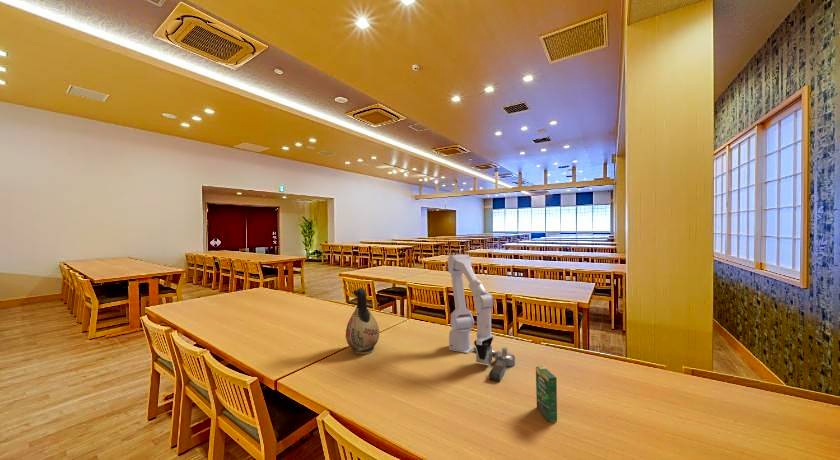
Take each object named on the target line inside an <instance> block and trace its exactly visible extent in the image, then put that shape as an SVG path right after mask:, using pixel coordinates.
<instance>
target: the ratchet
mask: <svg viewBox="0 0 840 460" xmlns="http://www.w3.org/2000/svg"><path fill="white" fill-rule="evenodd" d="M494 363H495V364H494V365H493V366H492V368H491V370H490V371H489V381H492V382H497V383H501V381H502V379H503V377H504V376H505V374H506V371H507V370H508V369H510V368H514V367H515V366H516V356H515V355H514V354H513V353H510V352H509V348H508V347H505V346H502V348H501V352H500V353H497V354H495V355H494Z"/></svg>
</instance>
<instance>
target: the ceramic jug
mask: <svg viewBox="0 0 840 460" xmlns="http://www.w3.org/2000/svg"><path fill="white" fill-rule="evenodd" d="M353 296H355V297H356V300H357V303H356V307H355V309H354V311H353V313H352V314H351V317H350V318H349V320H348V322H347V325H346V329H345V340H346V343H347V345H348V346H349V347H350V348H351V349H352V350H353V352H354V354H356V355H368V354H369V353H372V352H374V349H375V346H376V344H377V343H378V341H379V338H380V327H379V324H378V322H377V320H376V318H375V317H374V315H373V314H372V312H370V310H369V309H368V308H367V307H368V306H367V303H368V302H367V300H368V299H367V293H366V291H365V288H363V287H358V289H354V290H353Z"/></svg>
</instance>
